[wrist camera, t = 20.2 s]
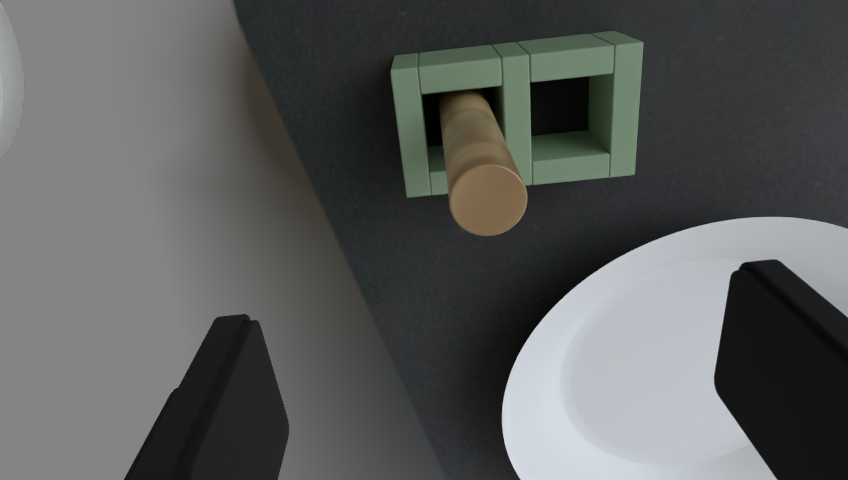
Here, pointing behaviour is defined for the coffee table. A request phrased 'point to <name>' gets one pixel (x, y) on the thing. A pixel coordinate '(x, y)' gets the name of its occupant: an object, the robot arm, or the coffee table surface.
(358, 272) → the coffee table surface
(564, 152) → the holder
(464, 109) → the stick
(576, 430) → the white plate
